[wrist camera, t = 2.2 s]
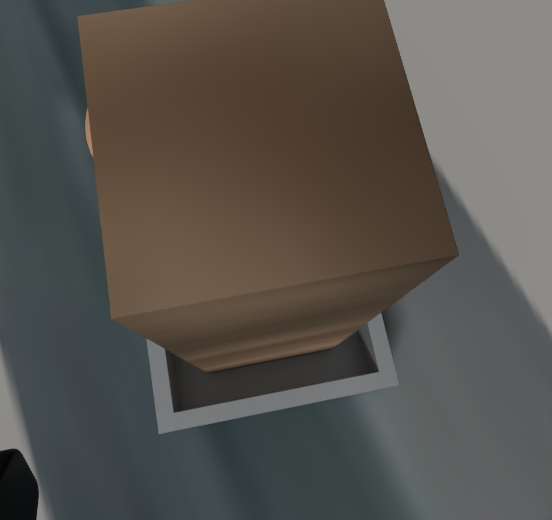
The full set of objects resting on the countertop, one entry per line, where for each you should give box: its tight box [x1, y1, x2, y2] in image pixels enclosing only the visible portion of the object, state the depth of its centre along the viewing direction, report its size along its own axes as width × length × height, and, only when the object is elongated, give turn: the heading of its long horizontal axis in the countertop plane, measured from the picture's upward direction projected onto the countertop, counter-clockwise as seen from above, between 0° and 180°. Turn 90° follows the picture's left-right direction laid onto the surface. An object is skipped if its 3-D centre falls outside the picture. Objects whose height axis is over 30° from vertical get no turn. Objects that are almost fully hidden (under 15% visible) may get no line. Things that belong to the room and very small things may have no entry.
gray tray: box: [147, 313, 399, 434], centre depth 21 cm, size 9×9×2 cm
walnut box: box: [78, 0, 459, 373], centre depth 15 cm, size 5×5×14 cm
